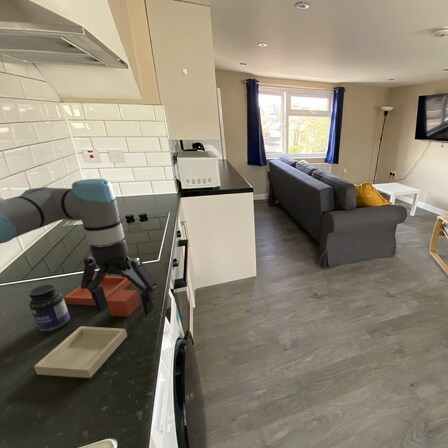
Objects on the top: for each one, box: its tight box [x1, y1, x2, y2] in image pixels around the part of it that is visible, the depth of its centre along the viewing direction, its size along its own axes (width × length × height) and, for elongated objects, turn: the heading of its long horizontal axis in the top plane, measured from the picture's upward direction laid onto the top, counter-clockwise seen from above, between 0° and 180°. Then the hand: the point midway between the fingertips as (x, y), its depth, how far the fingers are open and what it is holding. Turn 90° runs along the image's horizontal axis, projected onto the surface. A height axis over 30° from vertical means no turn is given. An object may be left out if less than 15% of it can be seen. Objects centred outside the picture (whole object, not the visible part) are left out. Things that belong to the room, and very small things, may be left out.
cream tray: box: [33, 325, 128, 379], centre depth 59 cm, size 12×12×2 cm
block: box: [107, 289, 141, 318], centre depth 73 cm, size 5×5×5 cm
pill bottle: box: [28, 283, 71, 334], centre depth 66 cm, size 6×6×11 cm
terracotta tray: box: [63, 275, 132, 306], centre depth 81 cm, size 12×12×2 cm
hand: (126, 309), depth 74 cm, fingers open, 13 cm apart
